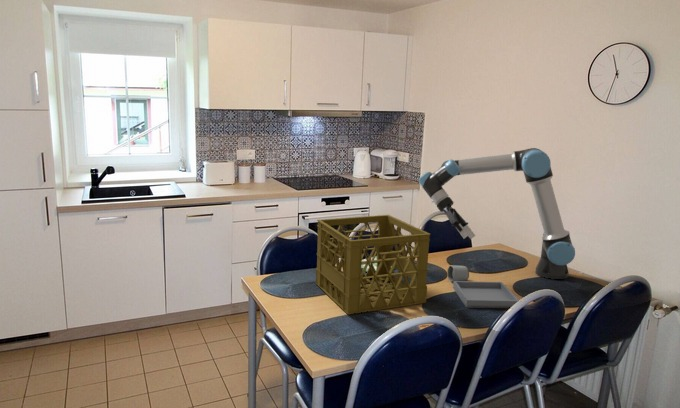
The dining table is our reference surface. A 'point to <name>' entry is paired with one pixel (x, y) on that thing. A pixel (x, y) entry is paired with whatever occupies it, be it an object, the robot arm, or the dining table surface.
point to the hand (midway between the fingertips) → (469, 237)
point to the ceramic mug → (457, 273)
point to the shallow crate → (484, 294)
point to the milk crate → (351, 262)
